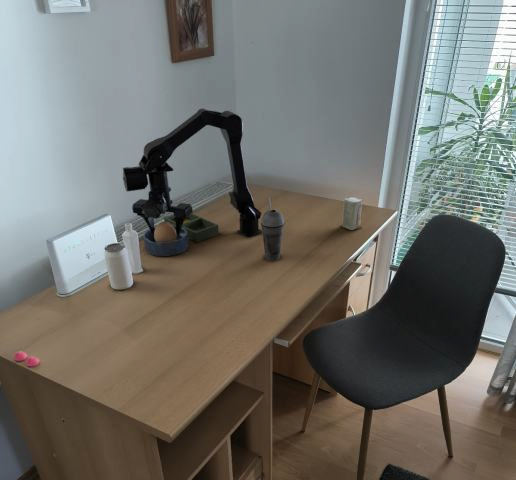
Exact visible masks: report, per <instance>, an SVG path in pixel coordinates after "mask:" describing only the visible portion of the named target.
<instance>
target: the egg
mask: <svg viewBox="0 0 516 480" xmlns="http://www.w3.org/2000/svg"><path fill="white" fill-rule="evenodd" d="M155 227H156V229H155V232H154V238H155V241H156V242H170V241H175V240H176V239H177V233H176V230H175V228H174V227H173V226H172V225H171V224H170V223H168V222H164V221H161V222H159V223H158V224H157V225H156V226H155Z"/></svg>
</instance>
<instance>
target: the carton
mask: <svg viewBox="0 0 516 480" xmlns="http://www.w3.org/2000/svg"><path fill="white" fill-rule="evenodd" d="M174 218H175V216H174V214H171V215H168V216H165V217H163V222H168V223H170V224H171V225H173V226H176V222H175V220H174ZM182 228H184V229H186V231H187V235H188V240H191V241H193V242H195V243H200V242H202V241H204V240H208V239H210V238H212V237H215V236H218V235H220V230H219V224H217V223H215V222H213V221H211V220H208V219H206V218H204V217H202V216H200V215H198V214H195V213H194V212H192V213H191V214H190V215H189V216H188V217H187V218H185V219H184V222H183V225H182Z"/></svg>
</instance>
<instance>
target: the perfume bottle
mask: <svg viewBox="0 0 516 480" xmlns="http://www.w3.org/2000/svg"><path fill="white" fill-rule="evenodd" d="M124 228H125V230H124V232H123V233H122V234H121V238H122V241H123V244H124V245H125V248H126V249H127V252H128V257H129V262H130V267H131V273H132V274H140V273H142V272H144V269H143V267H142V263H141V253H140V242H139V241H140V240H139V233H138V232H137V231H136V229H135V230H134V229H133V224H132V223H131V222H128V223H127V222H126V223H125V224H124Z"/></svg>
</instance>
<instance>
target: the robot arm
mask: <svg viewBox="0 0 516 480" xmlns="http://www.w3.org/2000/svg"><path fill="white" fill-rule="evenodd" d="M207 126H210V127H214V128H217V129H220V133H221V136H222V137H223V139H224V141H225V144H226V149H227V155H228V160H229V166H230V172H231V179H232V184H233V185H232V186H233V187H232V191H229V192H228V195H229V198H230V199H229V201H230V202H229V203H230V204H231V206H232V207H233V208H234V209H235V210H236V212H237V213H238V214H239V229H238V230H236V232H237V234H240V235H241V236H245V237H247V238H251V237H253V236H256V235H258V234H261V233H263V231H262V229H259V226H260V225H259V224H260V223H259V219H261V216H262V211H260V210H259V209H258V208H256V207H255V206H256V205H255V202H254V199H253V196H252V193H251V191H250V190H249V187H248V183H247V175H246V169H245V163H244V156H243V149H242V139H243V136H244V122H243V118H242V117H241V116H240V115H238V114H236V113H235V112H233V111H230V110H224V111H222V112H220V111H216V110H209V109H206V108H199V109H197V112H195V113H194V114H193V115H191V116H190V117H188V118H187V119H186V120H184V121H183V122H182V123H181V124H179V125H178V126H177V127H175V128H174V129H173V130H171V132H168V133H167V134H166V135H164V136H161V137H157V138H156V139H153V140H151V141H150V142H147V143H146V144H145V145H144V147H143V155H142V157H141V159H140V160H139V163H138V166H131V167H129V166H126V167H125V166H124V167H123V168H122V171H123V172H122V181H123V186H124V189H125V191H126V192H134V191H141V190H146V188H147V187H148V186H149V191H148V195H147V196H148V197H147V199H144V198H143V199H142V198H139V199H138V200H137V201H135V202H133V204H132V206H131V209H132V213H133V214H136V215H137V216H138V217H141V218H142V219H143V220H144V222H145V223H146V225H147V227H148V230H149V229H150V230H151V232H152V233H153V232H154V227H155V219H159V218H160V217H161V215H165V214H166V213H173V215H174V216H175V218H174V220H175V222H176V232H177V236H179V235H180V232H181V228H182V225H183V222H184V219H185V218H187V217H188V216H189V215H190V214H191V213H194V211H193V206H192V205H191V204H190V203H183V202H180V203H178V204H177V205H176V206H174V205H172V204H173V203H174V202H173V199H171V193H170V192H172V187H169V178H168V173H169V172H173V171H174V168H173V167H172V166H171V165H170V164H169V163H168V160H169V159H170V158H171V157H172V155H173V154H174V152H175V151H176V150H177V148H179V147H180V146H181V145H183V144H184V143H185V142H187V141H188V140H189V139H191V138H192V137H193V136H195V135H196V134H197V133H199V132H200V131H201V130H203V128H205V127H207Z"/></svg>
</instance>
